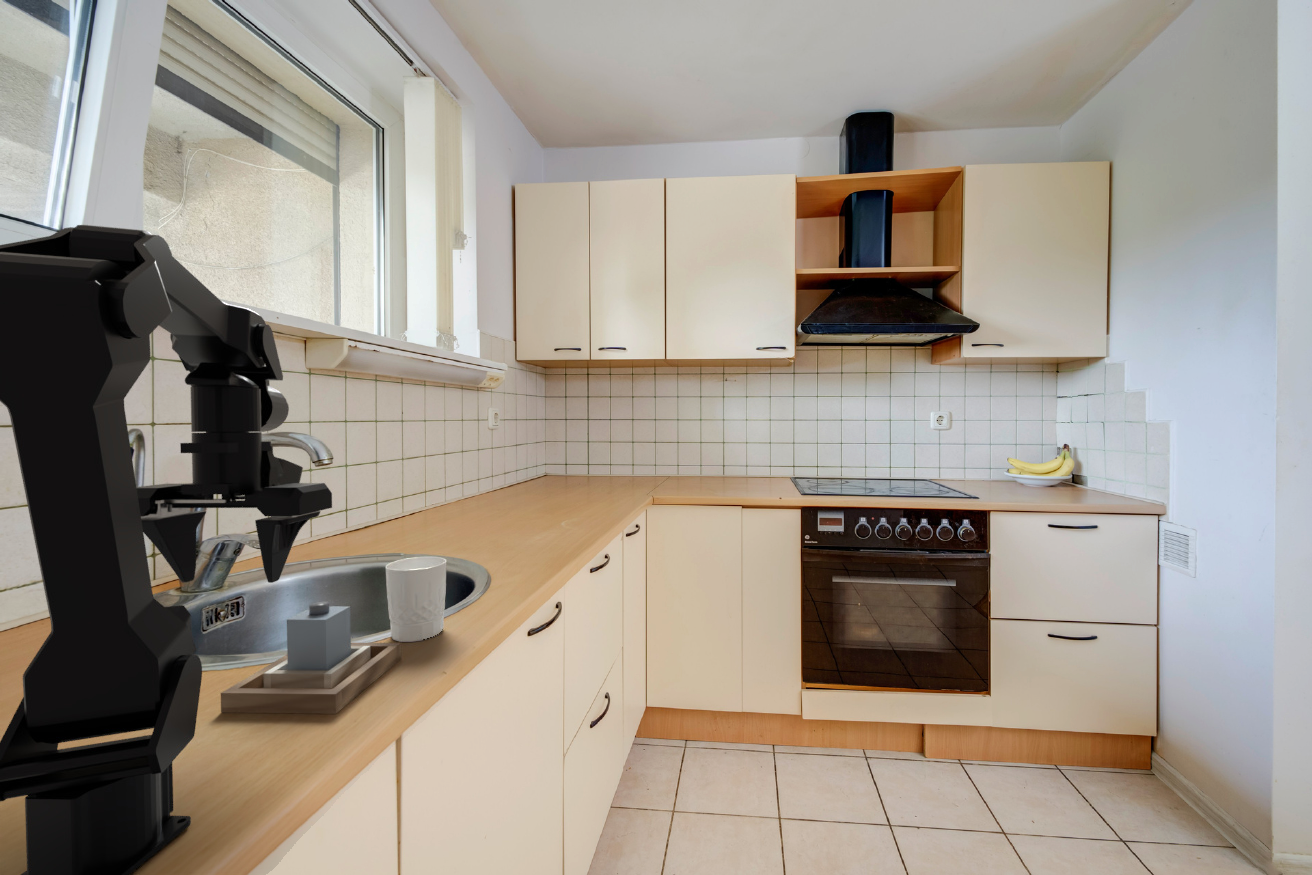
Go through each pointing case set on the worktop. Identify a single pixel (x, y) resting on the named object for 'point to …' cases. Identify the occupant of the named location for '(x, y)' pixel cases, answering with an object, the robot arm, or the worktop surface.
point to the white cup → (416, 597)
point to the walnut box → (311, 683)
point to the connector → (318, 637)
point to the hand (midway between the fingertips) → (230, 581)
